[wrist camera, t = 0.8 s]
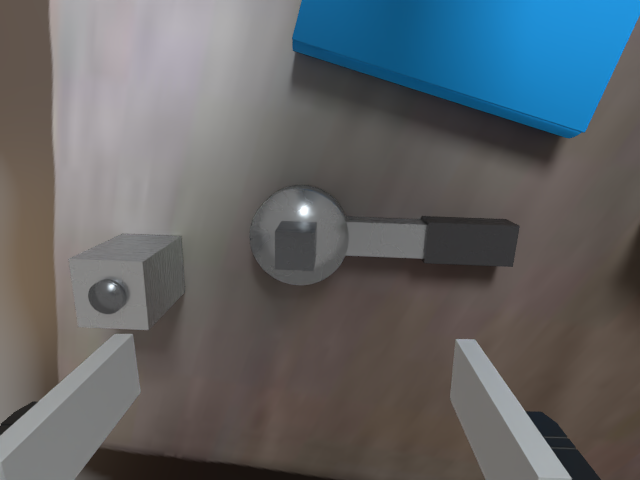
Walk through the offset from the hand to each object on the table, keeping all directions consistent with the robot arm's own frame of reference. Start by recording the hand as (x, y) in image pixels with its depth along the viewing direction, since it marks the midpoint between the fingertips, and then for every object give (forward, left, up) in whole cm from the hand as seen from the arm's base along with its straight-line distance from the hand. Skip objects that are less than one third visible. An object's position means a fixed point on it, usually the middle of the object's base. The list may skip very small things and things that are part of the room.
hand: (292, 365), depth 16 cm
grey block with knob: (+4, -17, -23) cm, 29 cm away
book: (-21, +12, -24) cm, 34 cm away
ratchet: (0, +6, -23) cm, 24 cm away
